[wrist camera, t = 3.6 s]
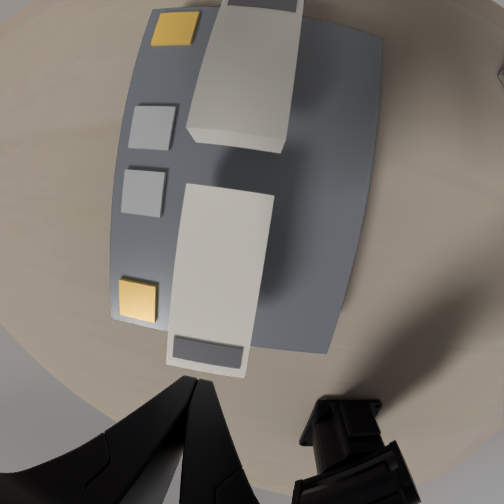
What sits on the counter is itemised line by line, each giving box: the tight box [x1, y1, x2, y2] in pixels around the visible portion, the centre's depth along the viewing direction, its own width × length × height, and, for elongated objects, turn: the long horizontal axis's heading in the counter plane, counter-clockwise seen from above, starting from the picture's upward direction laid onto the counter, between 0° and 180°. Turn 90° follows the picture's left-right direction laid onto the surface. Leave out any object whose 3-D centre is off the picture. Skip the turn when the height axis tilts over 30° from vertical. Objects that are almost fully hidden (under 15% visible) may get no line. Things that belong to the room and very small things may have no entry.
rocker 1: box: [186, 0, 304, 153], centre depth 10 cm, size 8×4×2 cm, turn 171°
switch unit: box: [110, 7, 383, 354], centre depth 15 cm, size 20×14×4 cm
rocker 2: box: [166, 183, 274, 378], centre depth 12 cm, size 8×4×2 cm, turn 171°
